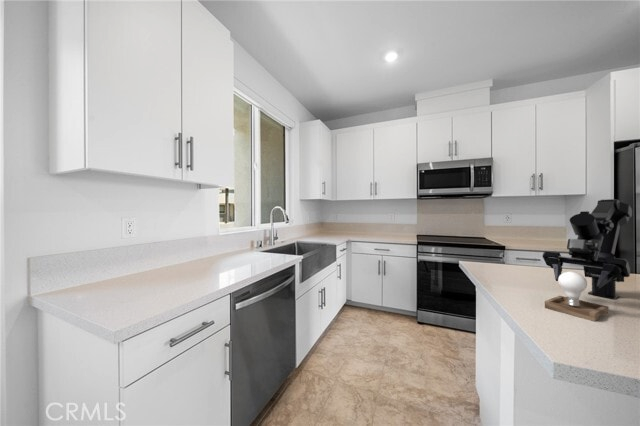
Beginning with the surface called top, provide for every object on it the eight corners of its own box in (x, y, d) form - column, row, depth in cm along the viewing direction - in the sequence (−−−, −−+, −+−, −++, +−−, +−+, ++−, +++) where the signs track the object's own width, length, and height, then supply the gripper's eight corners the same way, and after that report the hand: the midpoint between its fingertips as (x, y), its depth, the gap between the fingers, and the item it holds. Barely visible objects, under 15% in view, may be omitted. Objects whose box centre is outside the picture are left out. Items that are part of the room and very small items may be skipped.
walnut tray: (559, 302, 83) (559, 295, 83) (608, 313, 73) (608, 306, 73) (544, 307, 78) (544, 301, 78) (594, 321, 68) (594, 313, 68)
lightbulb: (553, 302, 80) (552, 269, 80) (576, 303, 79) (575, 269, 79) (569, 309, 74) (568, 273, 74) (594, 311, 72) (593, 274, 73)
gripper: (544, 228, 87) (530, 262, 81) (627, 231, 70) (616, 274, 65) (553, 248, 90) (541, 282, 85) (634, 256, 74) (625, 298, 69)
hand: (576, 283), depth 76 cm, fingers open, 9 cm apart
